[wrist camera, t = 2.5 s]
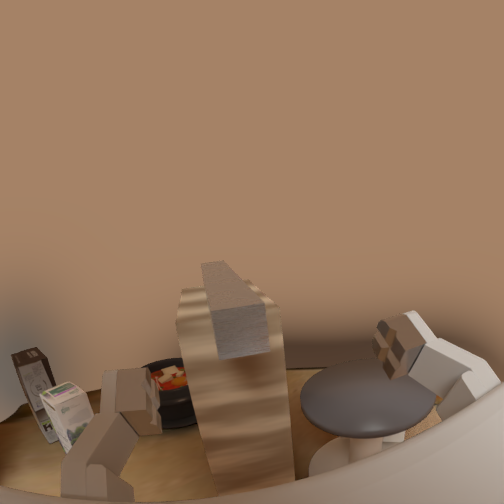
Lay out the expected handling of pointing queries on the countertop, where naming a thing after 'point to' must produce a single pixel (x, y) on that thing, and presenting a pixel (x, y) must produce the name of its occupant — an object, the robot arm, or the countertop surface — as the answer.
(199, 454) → the countertop surface
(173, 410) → the casserole
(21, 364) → the coffee box
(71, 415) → the syrup box
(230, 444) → the wooden stand
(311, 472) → the dial scale
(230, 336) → the wooden bar
